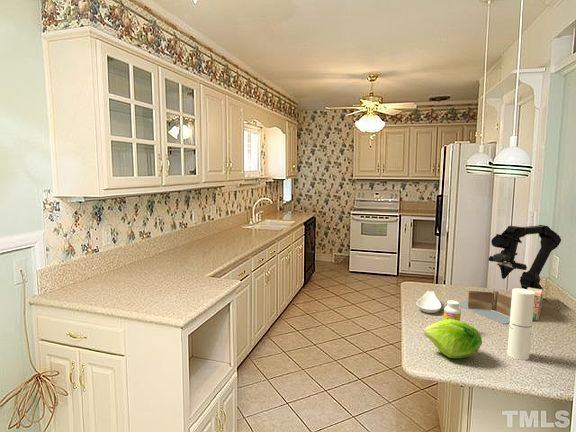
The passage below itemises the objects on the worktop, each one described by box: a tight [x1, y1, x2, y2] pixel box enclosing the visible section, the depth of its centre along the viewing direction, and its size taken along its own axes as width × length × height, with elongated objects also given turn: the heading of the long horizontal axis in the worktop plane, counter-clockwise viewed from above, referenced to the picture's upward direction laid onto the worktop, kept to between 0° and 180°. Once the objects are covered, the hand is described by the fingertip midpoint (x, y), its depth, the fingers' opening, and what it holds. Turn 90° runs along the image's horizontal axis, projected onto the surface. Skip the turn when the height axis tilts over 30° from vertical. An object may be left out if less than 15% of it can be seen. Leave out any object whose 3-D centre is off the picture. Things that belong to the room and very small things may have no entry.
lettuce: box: [423, 319, 483, 359], centre depth 145 cm, size 15×20×14 cm
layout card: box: [458, 301, 510, 325], centre depth 192 cm, size 16×29×1 cm, turn 20°
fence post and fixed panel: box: [492, 290, 512, 317], centre depth 187 cm, size 2×15×10 cm, turn 20°
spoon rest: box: [415, 290, 442, 314], centre depth 197 cm, size 24×12×7 cm, turn 158°
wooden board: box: [467, 290, 493, 310], centre depth 194 cm, size 2×11×8 cm, turn 79°
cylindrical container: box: [506, 287, 535, 361], centre depth 144 cm, size 7×7×25 cm
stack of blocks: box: [527, 287, 544, 321], centre depth 190 cm, size 21×6×12 cm, turn 143°
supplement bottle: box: [443, 299, 462, 321], centre depth 168 cm, size 7×7×13 cm
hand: (503, 278), depth 202 cm, fingers closed
